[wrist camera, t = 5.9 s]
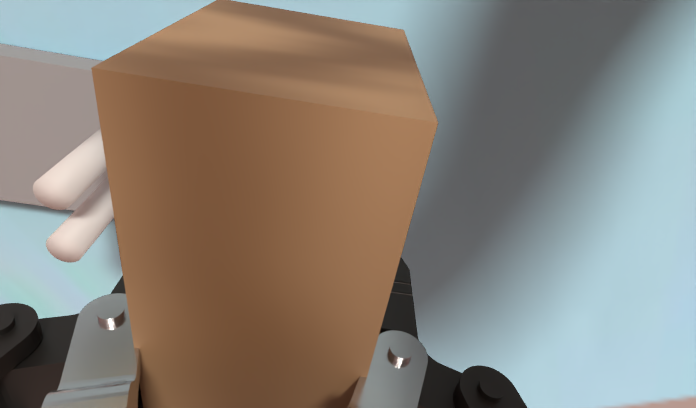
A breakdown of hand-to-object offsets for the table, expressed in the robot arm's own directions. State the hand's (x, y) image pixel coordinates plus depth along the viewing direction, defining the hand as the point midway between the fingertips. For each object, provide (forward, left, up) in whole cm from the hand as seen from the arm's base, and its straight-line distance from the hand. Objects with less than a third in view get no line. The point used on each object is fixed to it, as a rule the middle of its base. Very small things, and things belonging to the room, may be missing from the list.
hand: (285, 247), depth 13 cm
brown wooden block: (0, 0, -1) cm, 1 cm away
